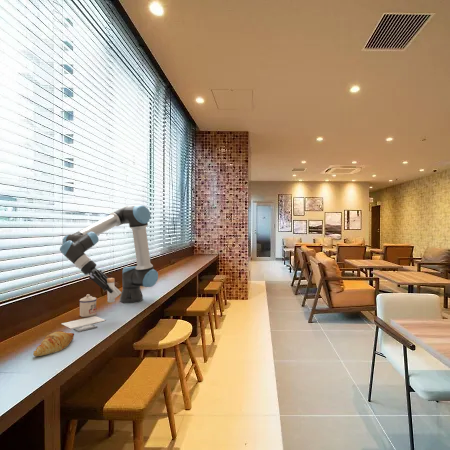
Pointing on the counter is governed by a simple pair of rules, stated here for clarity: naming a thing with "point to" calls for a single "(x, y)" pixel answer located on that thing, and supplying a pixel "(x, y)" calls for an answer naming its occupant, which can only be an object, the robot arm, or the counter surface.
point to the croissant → (54, 343)
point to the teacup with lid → (88, 306)
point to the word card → (85, 328)
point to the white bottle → (111, 283)
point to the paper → (82, 322)
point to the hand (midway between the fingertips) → (118, 295)
